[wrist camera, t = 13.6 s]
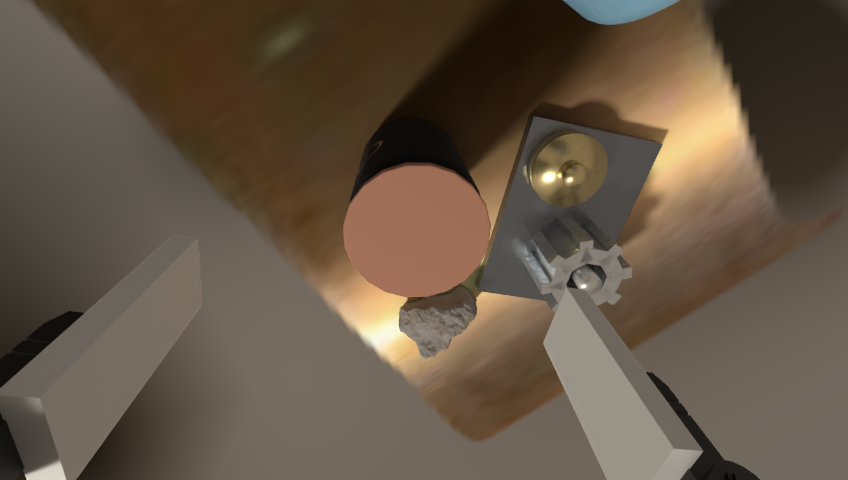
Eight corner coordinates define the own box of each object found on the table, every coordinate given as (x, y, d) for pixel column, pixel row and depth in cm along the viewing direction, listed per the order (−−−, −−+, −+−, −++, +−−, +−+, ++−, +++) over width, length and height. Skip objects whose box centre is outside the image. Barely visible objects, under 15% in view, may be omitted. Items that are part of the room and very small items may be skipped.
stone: (446, 264, 51) (452, 290, 46) (484, 302, 54) (493, 330, 49) (389, 307, 54) (388, 336, 48) (428, 341, 57) (431, 372, 51)
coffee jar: (368, 107, 42) (350, 151, 26) (467, 125, 43) (509, 177, 27) (356, 202, 46) (335, 289, 30) (446, 215, 48) (472, 305, 32)
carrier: (529, 113, 43) (558, 130, 35) (654, 140, 45) (706, 161, 38) (475, 284, 53) (489, 326, 45) (581, 299, 55) (611, 342, 47)
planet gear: (542, 211, 47) (561, 234, 41) (618, 225, 48) (646, 249, 43) (516, 281, 51) (530, 310, 46) (587, 292, 52) (609, 321, 47)
